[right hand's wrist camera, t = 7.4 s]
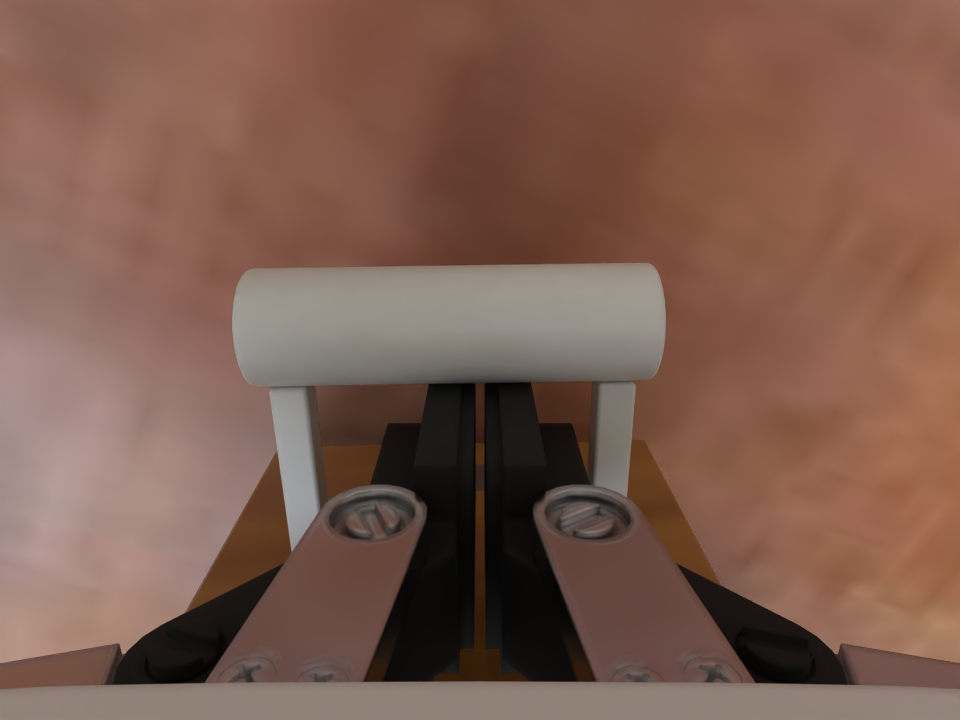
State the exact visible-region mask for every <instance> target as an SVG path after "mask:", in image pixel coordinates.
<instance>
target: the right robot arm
mask: <svg viewBox="0 0 960 720" xmlns="http://www.w3.org/2000/svg"><path fill="white" fill-rule="evenodd" d="M484 522H485V613H486V649H500V664H501V673H521V674H522V675H523V676H525V677H526V678H527V682H486V681H475V682H433V678H434V677H435V676H437V675H438V674H439V673H459V665H460V649H474V618H475V528H476V407H475V383H455V384H429V387H428V392H427V397H426V403H425V408H424V413H423V418H422V423H389V424H388V426H387V429H386V432H385V436H384V439H383V443H382V446H381V449H380V453H379V456H378V459H377V463H376V466H375V469H374V473H373V476H372V480H371V483H370V485H367V486H361V487H356V488H353V489H350V490H347V491H344V492H342V493H340V494H338V495H337V496H335V497H333V498H332V499H330V500H329V501H328V502H327V503H326V504H325V505H324V506H323V507H322V508H321V509H320V511H319V512H318V514H317V515H316V517H315V518H314V520H313V521H312V523H311V524H310V526H309V527H308V529H307V530H306V532H305V533H304V535H303V536H302V538H301V539H300V541H299V542H298V544H297V545H296V547H295V548H294V550H293V551H292V553H291V554H290V556H289V557H288V559H287V560H286V562H285V563H283V564H281V565H279V566H277V567H275V568H273V569H271V570H269V571H267V572H265V573H263V574H262V575H260V576H258V577H256V578H254V579H252V580H250V581H248V582H246V583H244V584H242V585H240V586H238V587H236V588H234V589H232V590H230V591H228V592H226V593H224V594H222V595H220V596H218V597H216V598H214V599H212V600H210V601H208V602H206V603H204V604H202V605H200V606H198V607H196V608H194V609H192V610H190V611H188V612H186V613H184V614H182V615H180V616H178V617H176V618H174V619H172V620H171V621H169V622H167V623H165V624H163V625H161V626H159V627H158V628H156V629H154V630H153V631H151V632H150V633H148V634H146V635H145V636H143V637H142V638H141V639H140V640H139V641H138V642H137V643H136V644H135V645H133V646H132V647H131V648H130V649H129V650H128V651H127V653H126V654H122V653H121V649H120V645H119V643H118V644H112V645H106V646H100V647H94V648H89V649H83V650H77V651H71V652H65V653H59V654H53V655H47V656H41V657H35V658H29V659H23V660H17V661H11V662H5V663H0V720H960V663H955V662H949V661H943V660H937V659H931V658H925V657H919V656H913V655H907V654H901V653H895V652H889V651H883V650H877V649H871V648H866V647H860V646H854V645H848V644H842V643H841V645H840V649H839V653H838V654H834V653H833V651H832V650H831V649H830V648H829V647H828V646H827V645H825V644H824V643H823V642H822V641H821V640H820V639H819V638H818V637H817V636H815V635H814V634H812V633H810V632H809V631H807V630H806V629H804V628H802V627H801V626H799V625H797V624H795V623H793V622H792V621H790V620H788V619H786V618H784V617H782V616H780V615H778V614H776V613H774V612H772V611H770V610H768V609H766V608H764V607H762V606H760V605H758V604H756V603H754V602H752V601H750V600H748V599H746V598H744V597H742V596H740V595H738V594H736V593H734V592H732V591H730V590H728V589H726V588H724V587H722V586H720V585H718V584H716V583H714V582H712V581H710V580H708V579H706V578H704V577H703V576H701V575H699V574H697V573H695V572H693V571H691V570H689V569H687V568H685V567H683V566H681V565H679V564H677V563H675V562H674V560H673V559H672V557H671V556H670V554H669V553H668V551H667V550H666V548H665V547H664V545H663V544H662V542H661V541H660V539H659V538H658V536H657V535H656V533H655V532H654V530H653V529H652V527H651V526H650V524H649V523H648V521H647V520H646V518H645V517H644V515H643V514H642V512H641V511H640V509H639V508H638V507H637V506H636V505H635V504H634V503H633V502H632V501H631V500H630V499H628V498H627V497H625V496H623V495H622V494H620V493H618V492H616V491H613V490H610V489H607V488H604V487H599V486H593V485H590V483H589V479H588V476H587V473H586V469H585V466H584V463H583V459H582V456H581V452H580V449H579V446H578V442H577V439H576V436H575V432H574V429H573V426H572V424H571V423H538V418H537V413H536V408H535V402H534V397H533V392H532V386H531V382H516V383H485V430H484Z"/></svg>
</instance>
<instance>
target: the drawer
mask: <svg viewBox="0 0 960 720" xmlns="http://www.w3.org/2000/svg"><path fill="white" fill-rule="evenodd" d="M232 332H233V342H234V349H235V354H236V358H237V362H238V365H239V368H240V371H241V373H242V375H243V377H244V378H245V380H246V381H247V382H248V383H249V384H251V385H253V386H257V387H271V386H272V387H271V388H270V391H269V394H270V402H271V409H272V416H273V423H274V430H275V437H276V444H277V452H276V453H275V455H274V457H273V459H272V460H271V462H270V464H269V466H268V468H267V469H266V471H265V473H264V475H263V476H262V478H261V480H260V482H259V483H258V485H257V487H256V489H255V490H254V492H253V494H252V496H251V498H250V499H249V501H248V503H247V505H246V506H245V508H244V510H243V512H242V513H241V515H240V517H239V519H238V520H237V522H236V524H235V526H234V527H233V529H232V531H231V533H230V535H229V536H228V538H227V540H226V542H225V543H224V545H223V547H222V549H221V550H220V552H219V554H218V556H217V557H216V559H215V561H214V563H213V565H212V566H211V568H210V570H209V572H208V573H207V575H206V577H205V579H204V580H203V582H202V584H201V586H200V587H199V589H198V591H197V593H196V594H195V596H194V598H193V600H192V602H191V603H190V605H189V607H188V609H187V610H186V612H188V611H190V610H192V609H194V608H196V607H198V606H200V605H202V604H204V603H206V602H208V601H210V600H212V599H214V598H216V597H218V596H220V595H222V594H224V593H226V592H228V591H230V590H232V589H234V588H236V587H238V586H240V585H242V584H244V583H246V582H248V581H250V580H252V579H254V578H256V577H258V576H260V575H262V574H263V573H265V572H267V571H269V570H271V569H273V568H275V567H277V566H279V565H281V564H283V563H285V562H286V560H287V559H288V557H289V556H290V554H291V553H292V551H293V550H294V548H295V547H296V545H297V544H298V542H299V541H300V539H301V538H302V536H303V535H304V533H305V532H306V530H307V529H308V527H309V526H310V524H311V523H312V521H313V520H314V518H315V517H316V515H317V514H318V512H319V511H320V509H321V508H322V507H323V506H324V505H325V504H326V503H327V502H328V501H329V500H330V499H332V498H333V497H335V496H337V495H338V494H340V493H342V492H344V491H347V490H350V489H353V488H356V487H361V486H367V485H370V483H371V480H372V476H373V473H374V469H375V466H376V463H377V459H378V456H379V453H380V449H381V446H382V445H337V446H322V443H321V434H320V425H319V416H318V407H317V398H316V389H315V386H332V385H394V384H455V383H516V382H577V381H592V392H591V410H590V428H589V441H577V442H578V446H579V449H580V452H581V456H582V459H583V463H584V466H585V469H586V473H587V476H588V479H589V483H590V485H593V486H599V487H604V488H607V489H610V490H613V491H616V492H618V493H620V494H622V495H623V496H625V497H627V498H628V499H630V500H631V501H632V502H633V503H634V504H635V505H636V506H637V507H638V508H639V509H640V511H641V512H642V514H643V515H644V517H645V518H646V520H647V521H648V523H649V524H650V526H651V527H652V529H653V530H654V532H655V533H656V535H657V536H658V538H659V539H660V541H661V542H662V544H663V545H664V547H665V548H666V550H667V551H668V553H669V554H670V556H671V557H672V559H673V560H674V562H675V563H677V564H679V565H681V566H683V567H685V568H687V569H689V570H691V571H693V572H695V573H697V574H699V575H701V576H703V577H704V578H706V579H708V580H710V581H712V582H714V583H716V584H718V585H720V586H721V584H720V583H719V581H718V579H717V577H716V575H715V573H714V571H713V569H712V567H711V566H710V564H709V562H708V560H707V558H706V556H705V554H704V552H703V550H702V549H701V547H700V545H699V543H698V541H697V539H696V537H695V535H694V534H693V532H692V530H691V528H690V526H689V524H688V522H687V520H686V518H685V517H684V515H683V513H682V511H681V509H680V507H679V505H678V503H677V501H676V500H675V498H674V496H673V494H672V492H671V490H670V488H669V486H668V485H667V483H666V481H665V479H664V477H663V475H662V473H661V471H660V469H659V468H658V466H657V464H656V462H655V460H654V458H653V456H652V454H651V452H650V451H649V449H648V447H647V445H646V443H645V441H642V440H632V429H633V417H634V405H635V393H636V384H635V382H634V381H639V380H649V379H651V378H653V377H654V376H655V375H656V373H657V371H658V369H659V367H660V363H661V360H662V356H663V351H664V345H665V335H666V307H665V298H664V292H663V287H662V283H661V279H660V276H659V274H658V271H657V270H656V268H655V267H654V266H653V265H651V264H649V263H588V264H519V265H450V266H381V267H311V268H253V269H250V270H248V271H246V272H245V273H244V274H243V275H242V276H241V278H240V280H239V282H238V285H237V288H236V292H235V297H234V303H233V313H232ZM186 612H185V613H186ZM475 681H486V682H527V678H526V677H525V676H523V675H522V674H521V673H501V664H500V649H486V613H485V522H484V443H476V528H475V618H474V649H460V665H459V673H439V674H438V675H437V676H435V677H434V678H433V682H475Z"/></svg>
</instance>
